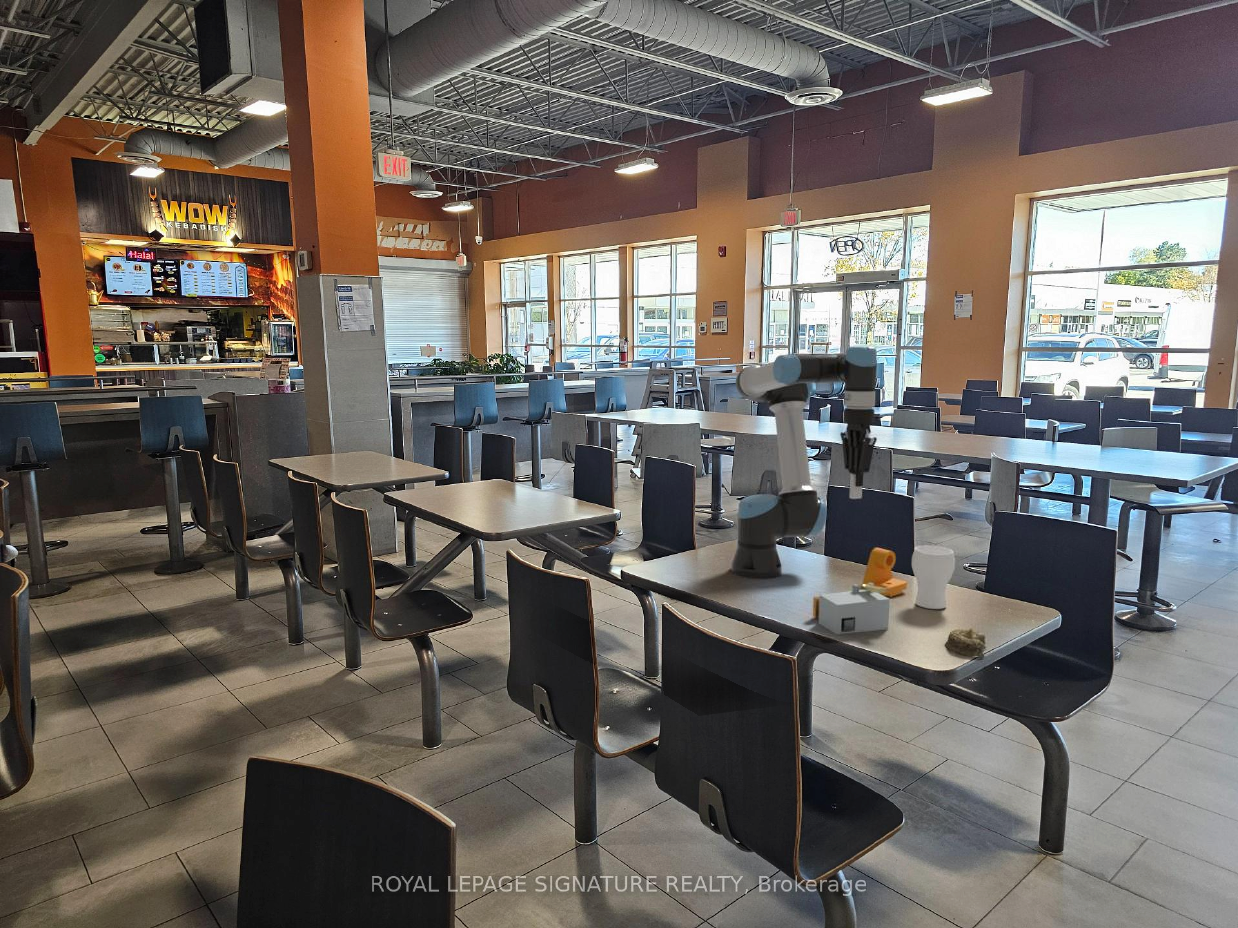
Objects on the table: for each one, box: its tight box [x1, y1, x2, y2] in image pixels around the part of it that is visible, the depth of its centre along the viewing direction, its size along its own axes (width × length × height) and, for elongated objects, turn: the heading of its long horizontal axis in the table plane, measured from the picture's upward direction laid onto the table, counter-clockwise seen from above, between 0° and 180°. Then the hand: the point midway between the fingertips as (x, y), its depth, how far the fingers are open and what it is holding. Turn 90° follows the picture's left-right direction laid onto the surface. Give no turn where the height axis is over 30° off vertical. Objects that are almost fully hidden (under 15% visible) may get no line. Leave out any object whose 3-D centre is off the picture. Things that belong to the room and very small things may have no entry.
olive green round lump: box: [944, 628, 990, 658], centre depth 179 cm, size 10×10×5 cm
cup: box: [911, 544, 956, 610], centre depth 209 cm, size 11×11×15 cm
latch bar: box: [857, 583, 887, 593], centre depth 192 cm, size 9×3×1 cm, turn 16°
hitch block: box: [818, 583, 891, 635], centre depth 193 cm, size 8×14×10 cm, turn 106°
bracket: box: [862, 547, 907, 598], centre depth 220 cm, size 11×7×12 cm, turn 126°
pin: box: [812, 596, 854, 630], centre depth 194 cm, size 12×5×5 cm, turn 16°
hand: (855, 498), depth 204 cm, fingers closed
